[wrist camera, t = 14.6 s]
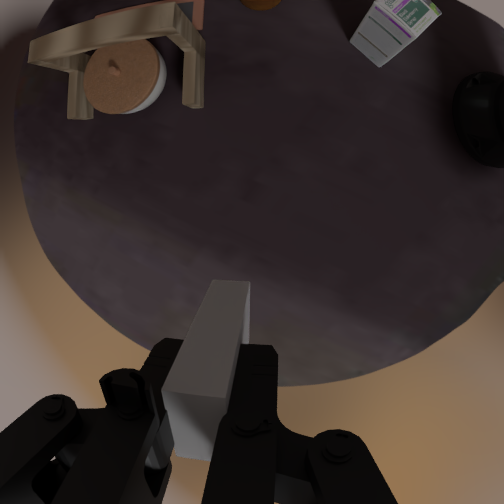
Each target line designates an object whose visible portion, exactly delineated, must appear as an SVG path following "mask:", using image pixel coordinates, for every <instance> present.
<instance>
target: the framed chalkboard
mask: <svg viewBox="0 0 504 504" xmlns="http://www.w3.org/2000/svg"><path fill="white" fill-rule="evenodd" d="M170 2H175V3H176V4H177V5H178V6H179V8H180V9H181V10H182V11H183V13H184V14H185V15H186V17H187V18H188V19H189V20H190V22H191V23H192V24H193V26H194V27H195V28H196V30H203V15H204V0H164V1H158V2H153V3H147V4H142V5H137V6H133V7H128V8H124V9H120V10H116V11H112V12H108V13H104V14H100V15H97V16H95V19H96V18H99V17H103V16H107V15H110V14H114V13H119V12H123V11H127V10H132V9H136V8H141V7H146V6H152V5H157V4H163V3H170Z"/></svg>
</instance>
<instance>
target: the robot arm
mask: <svg viewBox="0 0 504 504" xmlns="http://www.w3.org/2000/svg"><path fill="white" fill-rule="evenodd" d="M453 118H454V124H455V128H456V131H457V134H458V137H459V139H460V141H461V143H462V145H463V146H464V148H465V149H466V151H467V152H468V153H469V154H470V155H471V156H472V157H473V158H474V159H475V160H476V161H478V162H479V163H481V164H483V165H486V166H490V167H495V168H504V76H502V75H499V74H495V73H491V72H479V73H476V74H472V75H470V76H468V77H466V78H465V79H464V80H463V81H462V82H461V83H460V84H459V86H458V88H457V90H456V92H455V96H454V101H453ZM249 315H250V281H230V280H212V282H211V284H210V286H209V288H208V290H207V293H206V295H205V297H204V299H203V301H202V303H201V305H200V307H199V309H198V312H197V314H196V316H195V318H194V320H193V322H192V324H191V326H190V329H189V331H188V333H187V335H186V337H185V339H184V340H181V339H172V338H164V339H163V340H161V341H160V342H159V343H157V344H156V345H154V347H153V349H152V350H151V352H150V354H149V357H147V359H146V361H145V362H144V365H143V366H142V368H141V369H140V371H138V370H135V369H127V368H122V369H118V370H113V371H111V372H109V373H107V374H105V375H104V376H103V377H102V378H101V379H100V380H99V383H100V385H101V389H102V392H103V395H104V398H105V401H106V403H107V405H106V407H105V408H98V409H78V408H77V406H76V404H75V401H73V400H72V399H71V398H70V397H68V396H65V395H62V394H53V395H50V396H46V397H44V398H42V399H41V400H39V401H38V402H37V403H35V404H34V405H33V406H32V407H31V408H29V409H28V410H27V411H26V412H25V413H23V414H22V415H21V416H20V417H18V418H17V419H16V420H15V421H14V422H13V423H11V424H10V425H9V426H8V427H7V428H5V429H4V430H3V431H2V432H1V433H0V504H162V500H163V497H164V494H165V491H166V488H167V484H168V481H169V478H170V474H171V471H172V464H171V461H170V456H171V453H172V450H173V447H174V449H175V453H176V456H179V457H185V458H191V459H198V460H205V461H211V462H210V467H209V471H208V475H207V480H206V484H205V489H204V494H203V498H202V503H201V504H274V502H276V503H279V504H398V503H397V501H396V499H395V497H394V495H393V494H392V492H391V490H390V488H389V486H388V485H387V483H386V481H385V479H384V477H383V475H382V474H381V472H380V470H379V468H378V466H377V464H376V463H375V461H374V459H373V457H372V455H371V453H370V452H369V450H368V448H367V446H366V445H365V443H364V442H363V441H362V440H361V438H360V437H359V436H357V435H355V434H353V433H352V432H349V431H345V430H340V429H336V430H327V431H324V432H321V433H319V434H317V435H316V436H315V437H314V438H312V437H308V436H304V435H301V434H298V433H295V432H292V431H291V430H289V429H288V428H286V427H285V426H284V425H283V424H282V423H281V422H280V420H279V418H278V416H277V386H278V354H277V352H276V351H275V349H274V348H273V346H272V345H257V344H248V343H249ZM54 456H55V457H56V459H54V460H52V461H50V460H51V459H52V458H53V457H54Z"/></svg>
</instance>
